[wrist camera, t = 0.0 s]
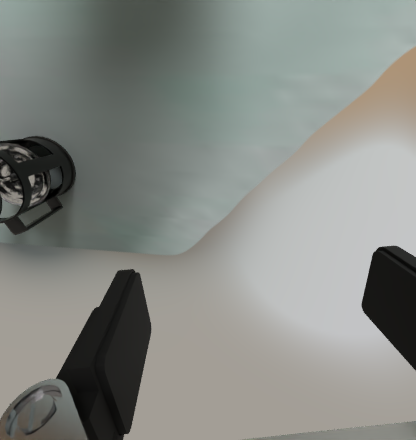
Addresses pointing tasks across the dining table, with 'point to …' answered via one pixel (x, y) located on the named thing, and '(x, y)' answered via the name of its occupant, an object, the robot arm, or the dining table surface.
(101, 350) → the robot arm
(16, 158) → the french press
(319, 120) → the dining table surface
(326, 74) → the dining table surface
